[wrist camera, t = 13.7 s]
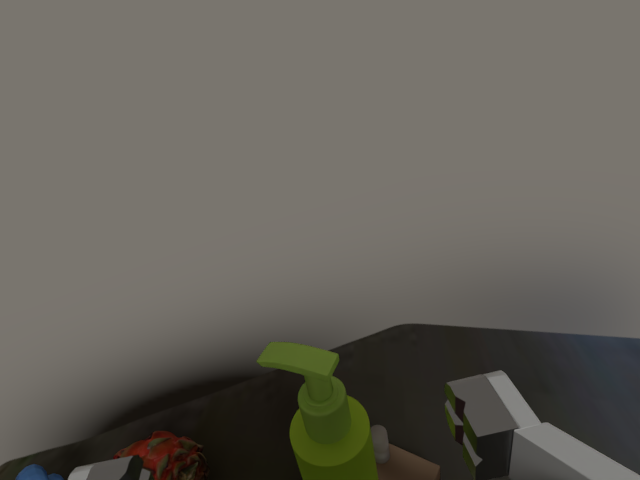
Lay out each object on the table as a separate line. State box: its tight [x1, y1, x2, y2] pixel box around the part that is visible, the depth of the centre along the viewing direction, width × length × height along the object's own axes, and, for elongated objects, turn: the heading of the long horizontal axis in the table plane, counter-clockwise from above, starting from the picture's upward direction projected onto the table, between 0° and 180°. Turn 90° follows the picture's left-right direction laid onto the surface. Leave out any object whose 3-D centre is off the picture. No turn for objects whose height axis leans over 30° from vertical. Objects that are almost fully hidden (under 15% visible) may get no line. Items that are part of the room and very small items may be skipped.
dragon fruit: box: [113, 431, 210, 480], centre depth 40 cm, size 8×8×12 cm
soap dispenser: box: [256, 342, 378, 480], centre depth 31 cm, size 6×7×20 cm
